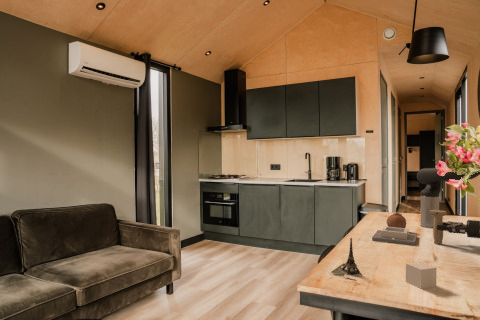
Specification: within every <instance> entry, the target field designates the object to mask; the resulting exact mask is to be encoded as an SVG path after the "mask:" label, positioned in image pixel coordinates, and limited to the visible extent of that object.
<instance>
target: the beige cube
mask: <svg viewBox="0 0 480 320" xmlns="http://www.w3.org/2000/svg"><path fill="white" fill-rule="evenodd" d="M437 269H438V268H437V267H435V266H433V265H432V264H431V265H430V264H428V263H425V262H423V261H417V262H408V263H405V283H407V284H409V285H411V286H414V287H416V288H417V289H420V290H422V289H423V290H424V289H430V288H436V287H437V271H438V270H437Z"/></svg>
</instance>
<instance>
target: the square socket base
mask: <svg viewBox="0 0 480 320" xmlns="http://www.w3.org/2000/svg"><path fill="white" fill-rule="evenodd" d="M417 238H418V234H417V233H409V228H396V227H388V226H385V225H384V227H382V229H381V230H379V229H378V230H377V231H376V232H375V233H374V234H373V235H372V237H371V239H372V240H371V241H374V242H381V243H382V242H383V243H389V244H397V245H407V246H416V242H417Z"/></svg>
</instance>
